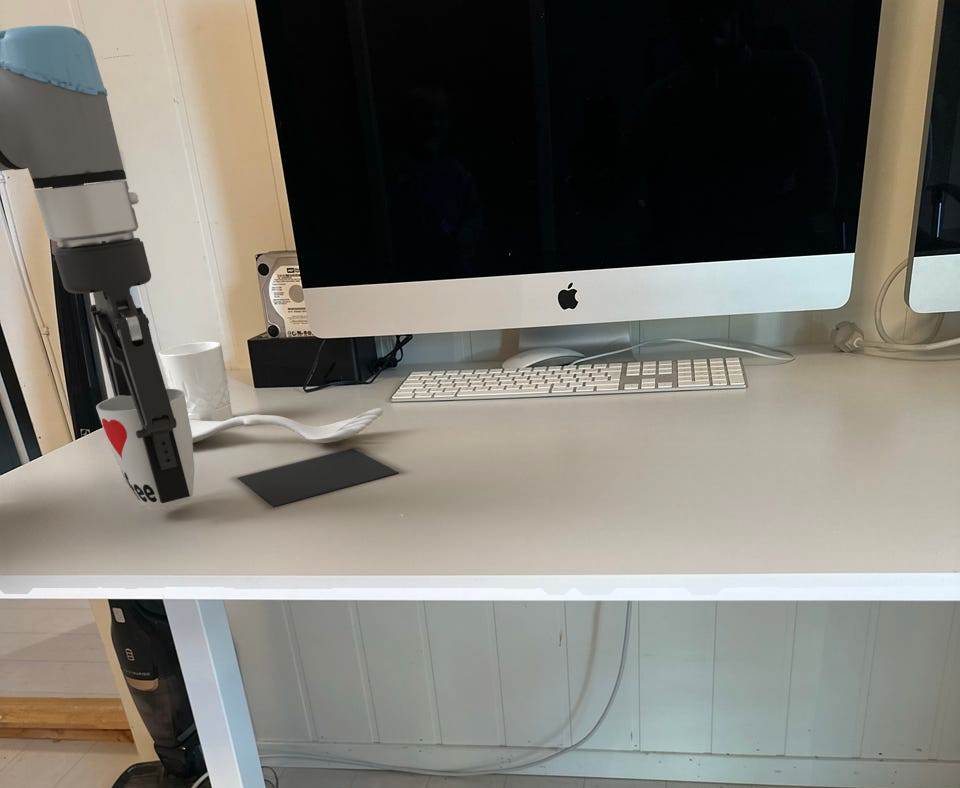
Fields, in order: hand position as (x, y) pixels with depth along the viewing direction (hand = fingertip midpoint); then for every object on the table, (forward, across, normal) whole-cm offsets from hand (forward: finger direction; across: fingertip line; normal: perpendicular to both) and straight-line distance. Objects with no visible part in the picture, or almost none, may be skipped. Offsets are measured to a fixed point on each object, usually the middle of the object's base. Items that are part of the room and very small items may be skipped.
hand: (164, 487), depth 90 cm
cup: (+1, 0, 0) cm, 1 cm away
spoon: (+3, +18, -15) cm, 24 cm away
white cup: (+3, +32, -13) cm, 35 cm away
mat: (+3, 0, -16) cm, 16 cm away
